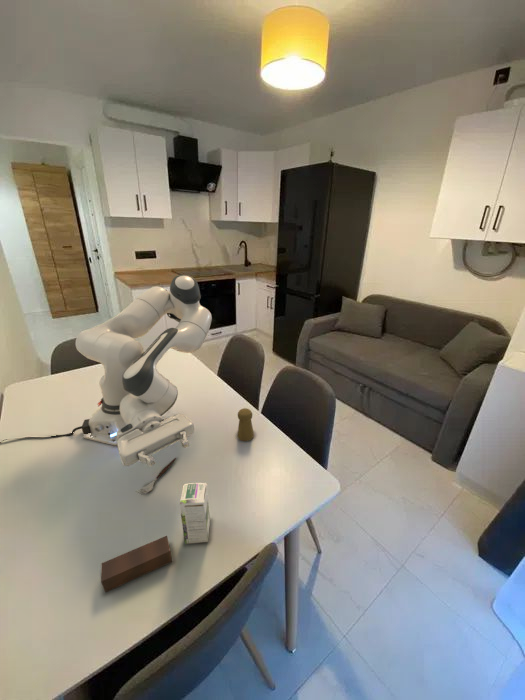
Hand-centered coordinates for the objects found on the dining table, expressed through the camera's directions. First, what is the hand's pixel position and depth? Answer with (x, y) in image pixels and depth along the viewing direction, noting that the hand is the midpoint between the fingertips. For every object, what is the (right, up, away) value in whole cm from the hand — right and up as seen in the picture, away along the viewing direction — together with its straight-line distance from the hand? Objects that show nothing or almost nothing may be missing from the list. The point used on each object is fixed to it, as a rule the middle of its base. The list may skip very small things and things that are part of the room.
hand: (169, 453), depth 75 cm
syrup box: (+8, -20, -1) cm, 21 cm away
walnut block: (-4, -23, -9) cm, 25 cm away
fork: (-8, -13, +15) cm, 21 cm away
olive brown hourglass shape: (+18, -5, +32) cm, 37 cm away
